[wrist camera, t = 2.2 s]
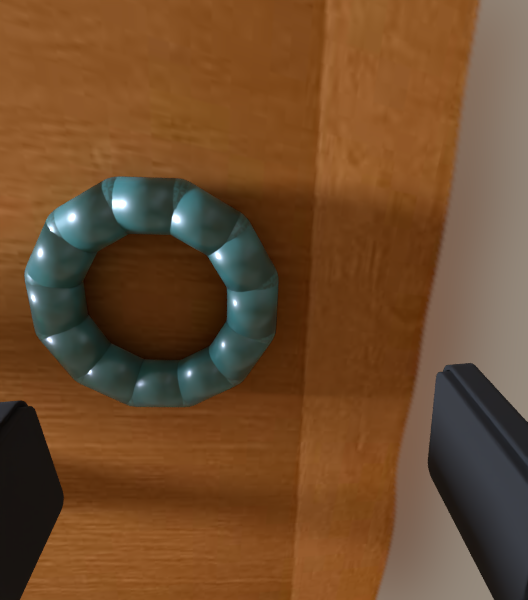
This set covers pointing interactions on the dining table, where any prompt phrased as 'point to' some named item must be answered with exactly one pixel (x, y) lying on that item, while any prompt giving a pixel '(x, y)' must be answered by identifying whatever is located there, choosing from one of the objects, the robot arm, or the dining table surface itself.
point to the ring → (163, 221)
